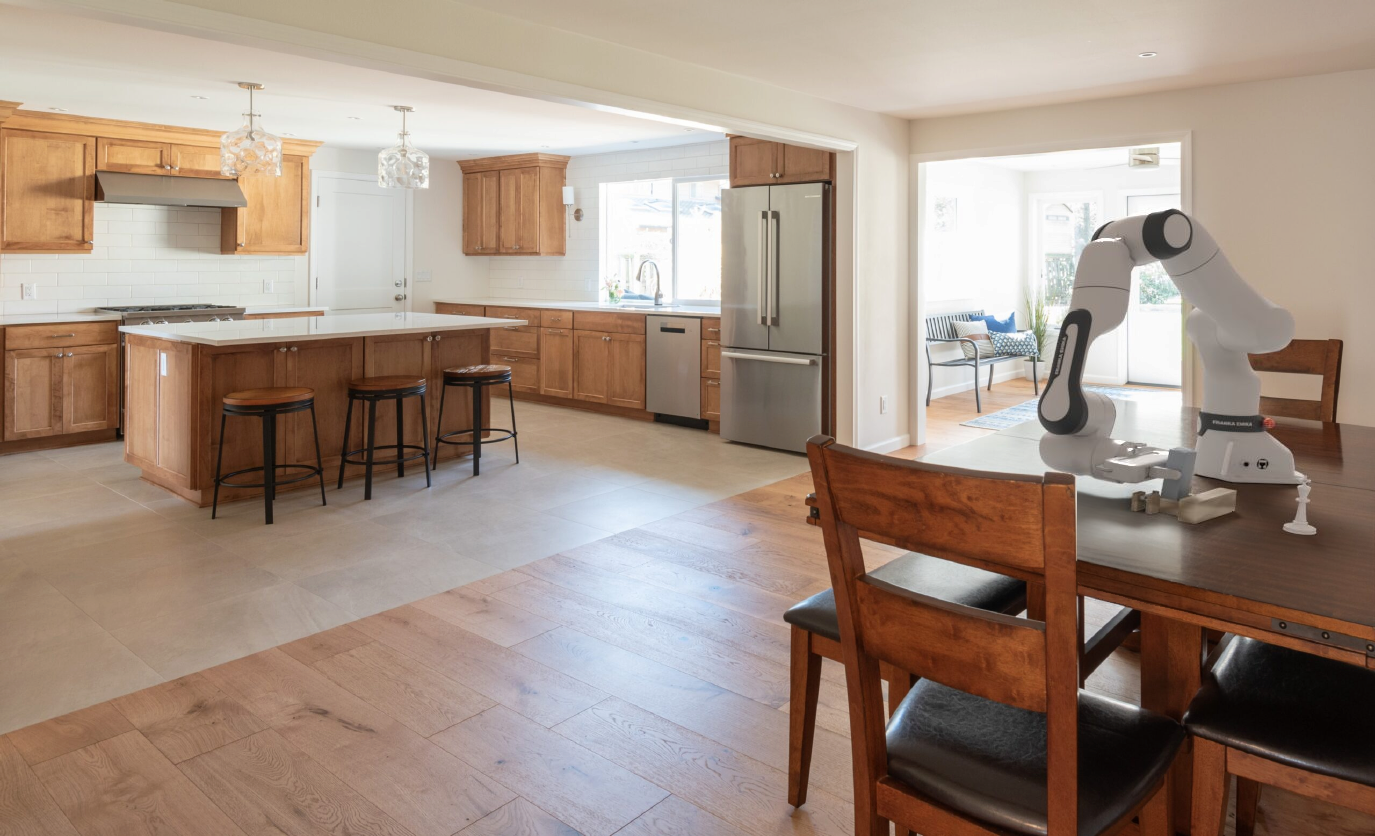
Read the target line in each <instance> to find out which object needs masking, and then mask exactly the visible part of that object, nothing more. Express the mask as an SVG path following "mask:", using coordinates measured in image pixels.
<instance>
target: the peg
mask: <svg viewBox="0 0 1375 836" xmlns="http://www.w3.org/2000/svg"><path fill="white" fill-rule="evenodd" d="M1168 450H1169V454H1168V459H1167V464H1166V468H1167V469H1177V470H1181V471H1182V474H1181V478H1180V479H1178V480H1173V479H1163V481H1162V485H1161V486H1162V487H1161V490H1160V494H1159V495H1160V498H1164V499H1169V500H1175V501H1179V500H1180V499H1183V498H1186V497H1188V495H1189V490H1190V486H1192V485H1191V484H1192V479H1193V476H1194V475H1193V471H1194V466H1195V461H1196V456H1197V451H1195V449H1191V448H1187V447H1183V446H1176V447H1172V448H1169V449H1168ZM1192 475H1193V476H1192Z"/></svg>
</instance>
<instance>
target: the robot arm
mask: <svg viewBox="0 0 1375 836" xmlns="http://www.w3.org/2000/svg"><path fill="white" fill-rule="evenodd" d="M1156 262H1160V264H1161V266H1162V268H1163V269H1164V271H1165V272H1166V274H1167V275H1168V276H1169V278H1170V280H1171V281H1172V283H1173V284H1174V286H1175V287H1176V288H1177V290H1178V292H1179V293H1180V295H1181V296H1182V297H1183V299H1184V300H1185V301H1186V302H1187V303H1188V304H1189V305H1191V306H1193V307H1194V308H1193V309H1192V310H1191V311H1190V312H1189V313H1188V315H1187V317H1186V320H1185V325H1184V327H1185V333H1186V336H1187V338H1188V339H1189V340H1190V341H1191V342H1192V344H1193V345H1194V346H1195V349H1196V351H1197V354H1198V357H1199V360H1200V365H1201V369H1202V381H1203V383H1202V384H1203V385H1202V388H1203V389H1202V400H1201V401H1202V402H1201V409H1200V410H1199V411H1198V416H1197V422H1196V424H1197V425H1196V432H1197V433H1196V434H1197V439H1196V440H1197V441H1196V445H1195V448H1194V450H1195V451H1197V456H1196V461H1195V466H1194V471H1193V475H1192V477H1193V476H1195V475H1199V476H1203V477H1207V478H1212V479H1213V478H1214V479H1218V480H1222V481H1225V482H1232V483H1250V484H1251V483H1253V484H1255V483H1256V484H1258V483H1259V484H1286V485H1287V484H1289V485H1290V484H1291V485H1303V482H1299V479H1304V476H1305V475H1304V474H1303V473H1301V472H1300V471H1297V470H1295V469H1296V467H1295V460H1294V455H1293V453H1292V451H1291V450H1290V449H1289V448H1288V447H1287V446H1286V445H1284V444H1282V443H1281V442H1280V441H1279V440H1278V439H1277V438H1275V437H1274V436H1273V435H1271V434H1270V433H1268V431H1266V430H1268V429H1272V428H1273V427H1275V425H1276V423H1275V421H1274V419H1271V418H1270V417H1265V416H1263V415H1261V414H1259V411H1260V401H1261V391H1262V390H1261V389H1262V388H1261V387H1262V380H1261V377H1260V376H1259V374H1258V373H1257V372H1256V371H1255V370H1254V369H1253V368H1252V365H1251V363H1250V360H1249V356H1248V354H1254V355H1257V354H1258V355H1261V354H1267V353H1274V352H1279V351H1281V350H1283V349H1285V348H1286V347H1287V346H1289V344H1290V343H1291V342H1292V340H1293V338H1294V336H1295V332H1296V320H1295V318H1294V316H1293V315H1292V313H1291V312H1290V311H1289V310H1287V309H1286V308H1284V307H1281V306H1279V305H1278V304H1276V303H1274V302H1273V301H1271V300H1269V299H1268V298H1267V297H1265V296H1264V295H1263V294H1261V293H1260V292H1259V291H1258V290H1257V289H1255V288H1254V287H1253V286H1252V284H1250V283H1249V282H1248V281H1247V280H1245V279H1244V278H1243V277H1242V276H1241V274H1239V273H1238V271H1237V270H1236V269H1235V268H1234V266H1233V264H1232V263H1231V262H1230V260H1229V259H1228V257H1227V256H1226V255H1225V253H1224V252H1223V250H1222V249H1221V247H1220V246H1219V244H1218V243H1217V241H1216V240H1215V238H1214V237H1213V236H1212V235H1211V233H1210V232H1209V231H1208V229H1206V228H1205V227H1204V226H1203V224H1201V222H1200V221H1199V220H1197V218H1195V216H1193V215H1191V214H1189V213H1186V212H1185V213H1184V212H1183V211H1181V210H1179V209H1178V208H1173V207H1172V208H1171V207H1160V208H1157V209H1153V210H1147V211H1142V212H1137V213H1132V214H1130V215H1128V216H1124V217H1122V218H1120V219H1116V220H1110V221H1109V222H1107V223H1104V224H1103V225H1101V226H1100V227H1098V228H1097V229H1096V230H1095V232H1093V235H1092V236H1091V239H1090V242H1089V243H1087V244H1086V245H1085V246H1084V247H1083V249H1082V251H1081V254H1080V256H1079V259H1078V263H1077V266H1076V270H1075V273H1074V274H1075V275H1074V279H1073V286H1072V292H1071V293H1072V294H1071V300H1070V304H1069V308H1068V312H1067V315H1066V316H1065V317H1064V319H1063V321H1062V323H1061V325H1060V330H1059V334H1058V337H1057V342H1056V346H1055V349H1054V355H1053V359H1052V363H1051V368H1050V372H1049V377H1048V380H1047V383H1046V385H1045V388H1044V389H1043V391H1042V393H1041V395H1040V397H1039V400H1038V402H1037V409H1036V411H1037V418H1038V421H1039V423H1040V425H1041V426H1042V427H1043V429H1045V430H1046V431H1047V432H1045V433H1044V434H1043V435H1042V436H1041V438H1040V440H1039V444H1038V450H1039V451H1038V452H1039V456H1040V458H1041V460H1042V461H1041V462H1043V463H1044V464H1045V466H1047V467H1049V468H1050V469H1052V470H1054V471H1057V472H1061V473H1065V474H1068V473H1071V474H1070V475H1072V474H1074V475H1073V476H1078V477H1082V476H1083V477H1084V476H1089V477H1091V478H1093V479H1095V480H1097V481H1098V480H1099V481H1104V482H1110V483H1114V484H1119V485H1123V484H1132V485H1133V484H1135V485H1136V484H1139V483H1143V482H1149V481H1152V480H1156V479H1160V480H1161V479H1163V480H1164V479H1173V480H1178V479H1180V478H1181V474H1182V471H1181V470H1177V469H1167V468H1166V464H1167V459H1168V454H1169V449H1165V448H1161V447H1156V446H1148V444H1147V442H1142V441H1129V440H1123V439H1117V438H1110V437H1111V435H1112V432H1113V428H1114V425H1115V422H1116V417H1117V410H1116V406H1115V404H1114V402H1113V400H1112V399H1111V398H1110V397H1109V396H1108V395H1105V394H1103V393H1100V392H1096V391H1092V390H1085V389H1084V388H1083V378H1084V374H1085V373H1084V372H1085V368H1086V363H1087V361H1088V360H1087V358H1088V354H1089V350H1090V348H1091V346H1092V344H1093V343H1094V341H1095V340H1097V338H1099V337H1101V336H1102V335H1106V334H1108V333H1111V332H1112V331H1114V330H1116V328H1118V327H1119V326H1120V325H1121V324H1122V323H1123V322H1124V321H1125V317H1126V315H1127V312H1128V309H1129V305H1130V304H1129V303H1130V295H1131V285H1132V284H1131V283H1132V271H1133V270H1134V268H1136V267H1142V266H1147V265H1149V264H1152V263H1156Z"/></svg>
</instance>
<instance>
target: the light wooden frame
mask: <svg viewBox="0 0 1375 836" xmlns="http://www.w3.org/2000/svg"><path fill="white" fill-rule="evenodd" d="M1237 493H1238V492H1237V490H1236V489H1230V488H1224V487H1218V488H1214V489H1211V490H1207V491H1203V492H1201V493H1197V494H1193V493H1192V485H1190V490H1189V495H1188V497H1186V498H1183V499H1180V500H1179V501H1175V500H1169V499H1164V498H1160V495H1161V494H1160V493H1159V494H1152V495H1149V496H1147V499H1146V500H1142V499H1140V496H1142V495H1146V491H1144V490H1139V491H1135V492H1132V493H1131V494H1132V496H1131V507H1130V508H1131V509H1130V511H1134V512H1138V511H1142V510H1145V514H1148V515H1154V514H1156V513H1157V514H1158V513H1162V514H1169V515H1171V516H1172V515H1173V516H1177V521H1179V522H1183V523H1186V524H1188V523H1189V524H1192V525H1196V524H1199V523H1202V522H1205V521H1207V520H1211V519H1214V518H1217V517H1219V516H1223V515H1227V514H1229V513H1233V512H1235V510H1236V502H1237V501H1236V500H1237ZM1145 502H1146V503H1145ZM1232 511H1233V512H1232ZM1153 513H1154V514H1153Z"/></svg>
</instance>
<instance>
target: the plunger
mask: <svg viewBox="0 0 1375 836" xmlns="http://www.w3.org/2000/svg"><path fill="white" fill-rule="evenodd" d="M1152 494H1159V495H1160V491H1159V490H1152V491H1151V492H1150V493H1147V494H1145V495H1142V496H1140V499H1142V500H1145V501H1147V496H1149V495H1152Z"/></svg>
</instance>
